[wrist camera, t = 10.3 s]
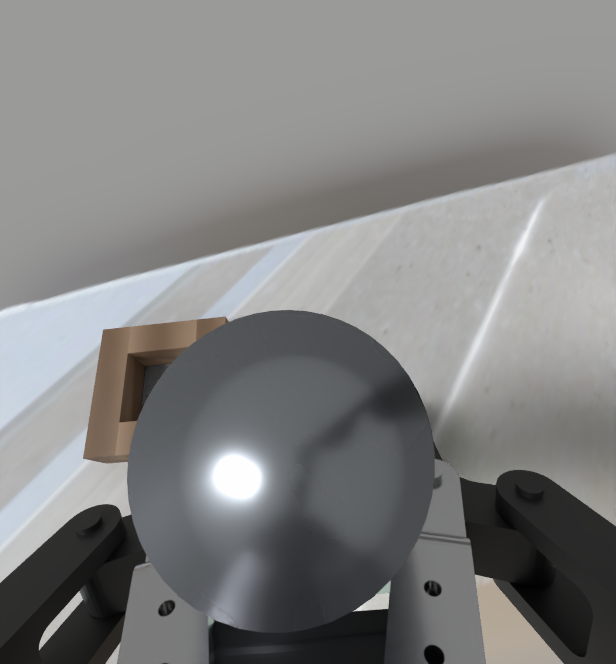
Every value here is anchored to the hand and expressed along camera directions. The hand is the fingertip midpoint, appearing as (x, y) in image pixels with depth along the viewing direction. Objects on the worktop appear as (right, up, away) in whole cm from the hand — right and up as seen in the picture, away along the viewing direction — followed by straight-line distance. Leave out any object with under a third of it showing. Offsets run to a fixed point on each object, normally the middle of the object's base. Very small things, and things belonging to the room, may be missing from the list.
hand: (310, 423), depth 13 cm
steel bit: (+1, -5, +6) cm, 8 cm away
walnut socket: (-11, -2, +19) cm, 22 cm away
